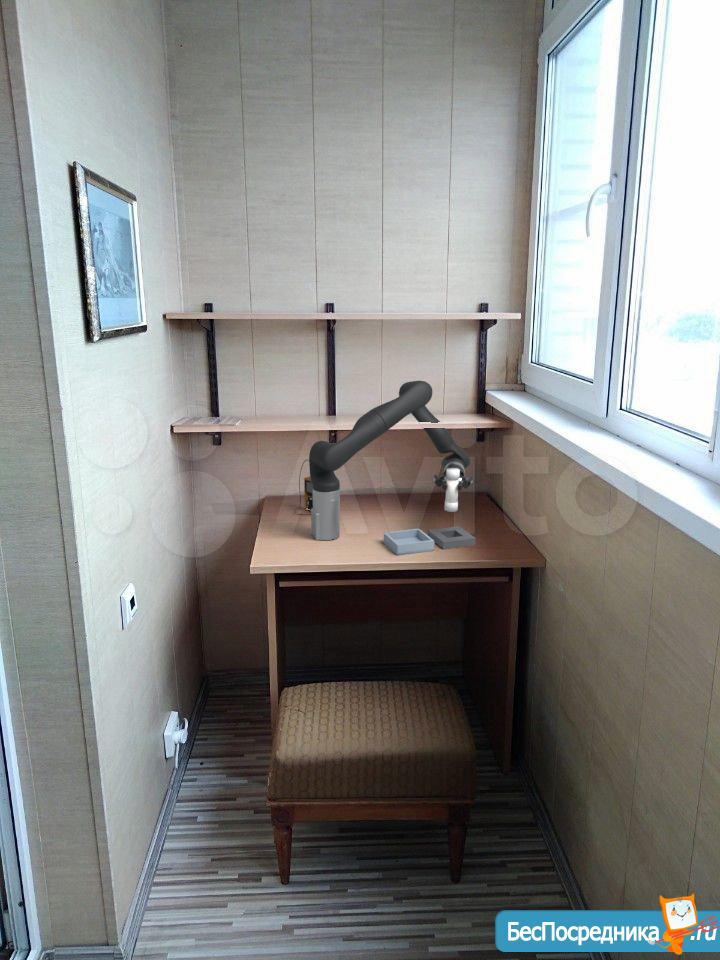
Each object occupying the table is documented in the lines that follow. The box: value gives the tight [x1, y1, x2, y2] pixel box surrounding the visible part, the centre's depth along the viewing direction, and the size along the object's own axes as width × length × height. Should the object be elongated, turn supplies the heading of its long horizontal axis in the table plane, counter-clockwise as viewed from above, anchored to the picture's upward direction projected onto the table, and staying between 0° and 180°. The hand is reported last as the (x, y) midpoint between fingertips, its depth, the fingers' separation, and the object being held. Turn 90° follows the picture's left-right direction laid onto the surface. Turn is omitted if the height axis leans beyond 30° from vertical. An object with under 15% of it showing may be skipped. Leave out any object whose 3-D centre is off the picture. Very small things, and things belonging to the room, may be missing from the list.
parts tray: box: [383, 528, 435, 556], centre depth 225 cm, size 13×12×4 cm
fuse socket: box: [427, 525, 476, 550], centre depth 230 cm, size 12×12×2 cm
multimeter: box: [298, 459, 313, 510], centre depth 254 cm, size 15×10×20 cm
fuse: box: [443, 468, 460, 513], centre depth 225 cm, size 4×4×14 cm
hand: (452, 487), depth 222 cm, fingers closed on fuse, 4 cm apart
